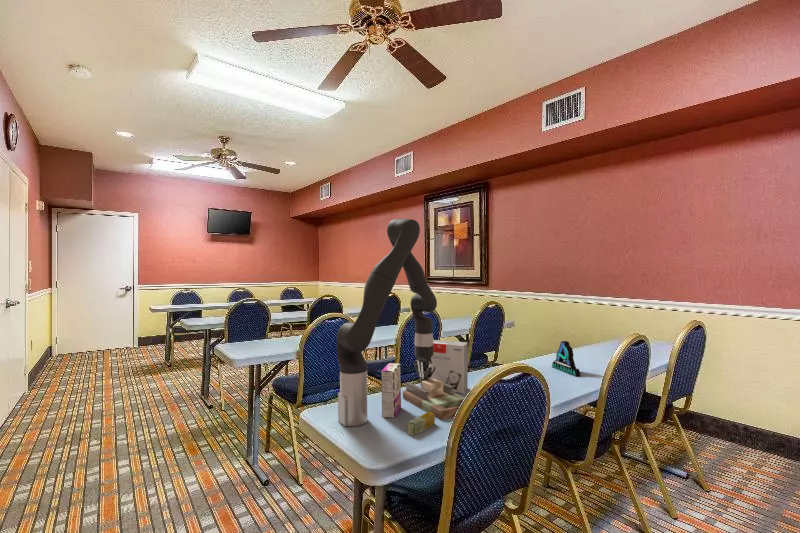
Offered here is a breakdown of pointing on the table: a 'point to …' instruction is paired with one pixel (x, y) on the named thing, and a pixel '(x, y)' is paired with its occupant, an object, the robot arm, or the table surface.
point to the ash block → (433, 387)
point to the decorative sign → (567, 355)
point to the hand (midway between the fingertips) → (424, 387)
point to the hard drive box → (451, 363)
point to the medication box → (420, 423)
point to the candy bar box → (391, 390)
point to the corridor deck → (434, 400)
